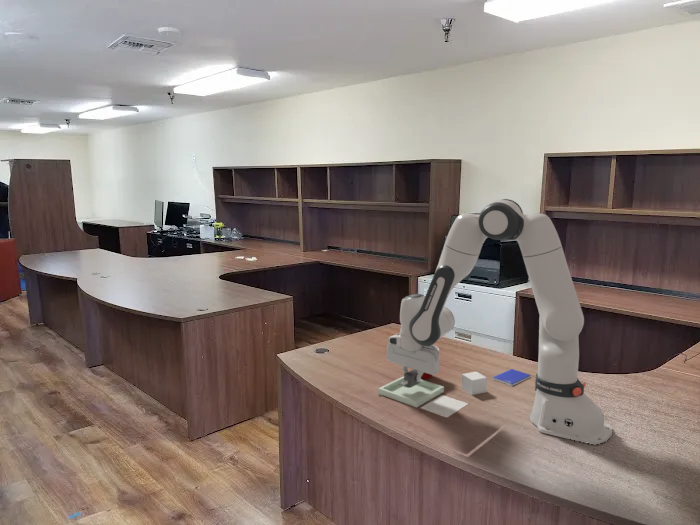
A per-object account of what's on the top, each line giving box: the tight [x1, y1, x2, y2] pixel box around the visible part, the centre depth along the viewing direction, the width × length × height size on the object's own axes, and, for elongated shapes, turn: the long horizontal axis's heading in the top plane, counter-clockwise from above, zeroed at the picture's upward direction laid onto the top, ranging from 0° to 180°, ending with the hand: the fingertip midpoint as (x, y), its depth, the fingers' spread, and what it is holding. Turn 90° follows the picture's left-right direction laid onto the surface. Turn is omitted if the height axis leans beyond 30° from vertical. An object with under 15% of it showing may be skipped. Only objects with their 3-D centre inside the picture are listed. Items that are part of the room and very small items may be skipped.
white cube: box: [461, 371, 488, 396], centre depth 172 cm, size 6×6×6 cm
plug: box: [401, 369, 420, 388], centre depth 170 cm, size 9×3×4 cm, turn 137°
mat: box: [420, 394, 469, 418], centre depth 161 cm, size 10×13×1 cm
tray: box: [377, 375, 445, 409], centre depth 171 cm, size 16×16×2 cm
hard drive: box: [491, 368, 531, 387], centre depth 184 cm, size 2×8×12 cm
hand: (412, 379), depth 171 cm, fingers closed on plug, 3 cm apart
